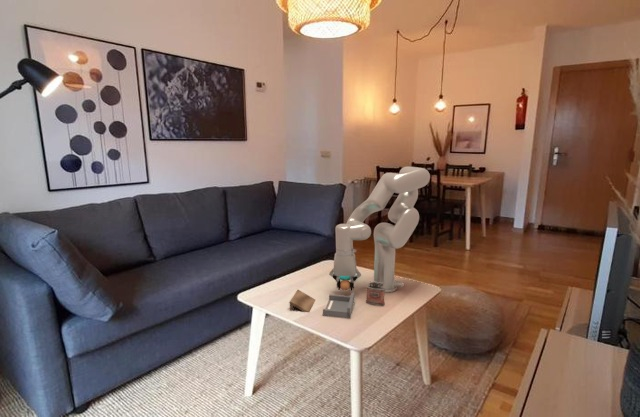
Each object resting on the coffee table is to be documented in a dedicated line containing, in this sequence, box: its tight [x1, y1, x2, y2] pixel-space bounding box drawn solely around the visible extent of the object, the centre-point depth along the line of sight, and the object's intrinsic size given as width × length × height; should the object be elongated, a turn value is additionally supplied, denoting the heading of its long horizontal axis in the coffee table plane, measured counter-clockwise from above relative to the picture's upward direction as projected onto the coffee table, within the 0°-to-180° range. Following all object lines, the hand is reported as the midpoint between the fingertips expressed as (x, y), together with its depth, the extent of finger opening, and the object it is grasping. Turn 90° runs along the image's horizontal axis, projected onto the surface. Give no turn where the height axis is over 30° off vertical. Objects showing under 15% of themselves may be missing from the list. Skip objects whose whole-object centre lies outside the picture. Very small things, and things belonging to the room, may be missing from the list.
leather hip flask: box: [365, 280, 385, 307], centre depth 151 cm, size 8×3×10 cm, turn 70°
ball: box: [340, 279, 351, 291], centre depth 161 cm, size 5×5×5 cm
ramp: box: [288, 289, 316, 313], centre depth 150 cm, size 9×12×5 cm
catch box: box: [322, 291, 355, 320], centre depth 147 cm, size 11×15×4 cm
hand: (345, 288), depth 161 cm, fingers closed on ball, 4 cm apart
